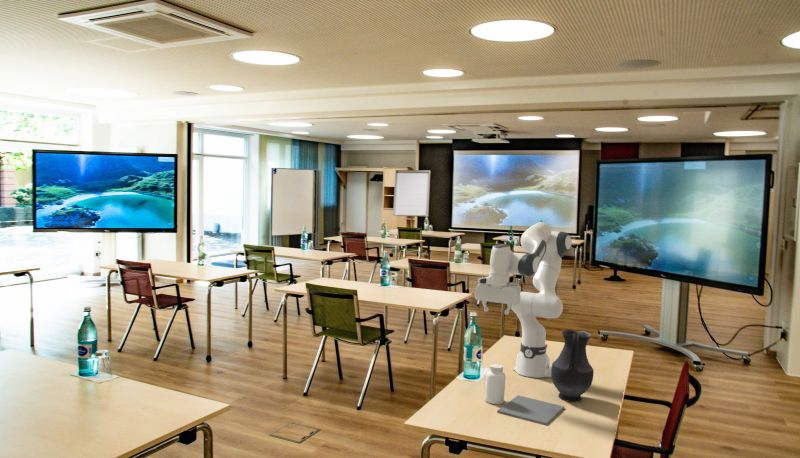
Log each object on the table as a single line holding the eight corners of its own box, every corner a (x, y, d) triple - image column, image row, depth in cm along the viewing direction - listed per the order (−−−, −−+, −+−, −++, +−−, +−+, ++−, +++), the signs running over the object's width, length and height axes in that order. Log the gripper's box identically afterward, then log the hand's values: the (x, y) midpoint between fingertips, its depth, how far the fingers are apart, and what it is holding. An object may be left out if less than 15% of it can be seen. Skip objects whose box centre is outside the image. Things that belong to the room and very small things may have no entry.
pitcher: (590, 394, 261) (595, 327, 259) (592, 411, 241) (597, 338, 239) (550, 389, 266) (554, 322, 264) (548, 404, 246) (553, 333, 244)
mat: (517, 397, 254) (517, 395, 254) (564, 408, 243) (564, 406, 243) (497, 412, 235) (497, 410, 235) (546, 425, 224) (546, 423, 224)
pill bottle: (503, 405, 243) (505, 369, 242) (483, 403, 244) (486, 367, 243) (504, 399, 251) (506, 364, 250) (485, 396, 252) (487, 362, 251)
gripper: (524, 283, 257) (521, 315, 257) (480, 278, 267) (477, 309, 267) (518, 284, 251) (516, 316, 251) (474, 278, 262) (472, 310, 262)
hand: (496, 312), depth 259 cm, fingers open, 8 cm apart
